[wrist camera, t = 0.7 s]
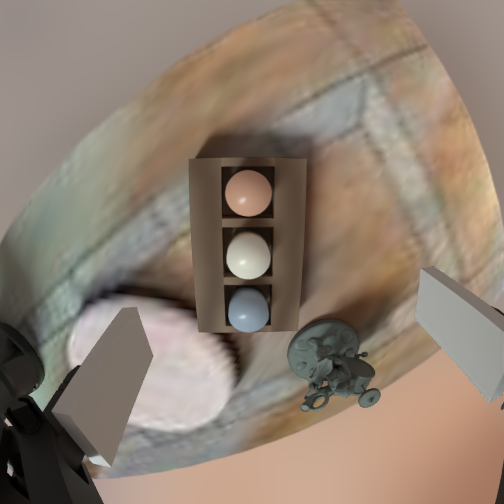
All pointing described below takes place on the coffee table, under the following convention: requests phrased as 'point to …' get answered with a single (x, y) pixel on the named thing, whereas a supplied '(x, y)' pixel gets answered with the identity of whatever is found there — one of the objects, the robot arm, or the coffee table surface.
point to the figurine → (331, 363)
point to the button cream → (248, 255)
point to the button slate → (248, 309)
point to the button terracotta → (248, 193)
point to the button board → (230, 223)
